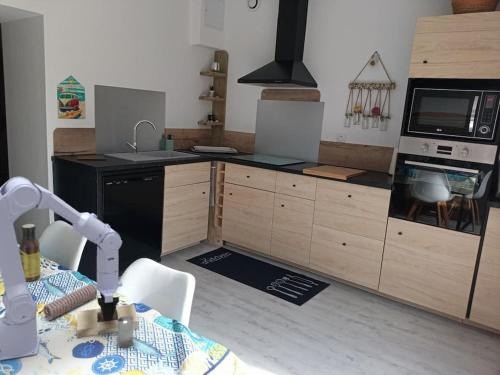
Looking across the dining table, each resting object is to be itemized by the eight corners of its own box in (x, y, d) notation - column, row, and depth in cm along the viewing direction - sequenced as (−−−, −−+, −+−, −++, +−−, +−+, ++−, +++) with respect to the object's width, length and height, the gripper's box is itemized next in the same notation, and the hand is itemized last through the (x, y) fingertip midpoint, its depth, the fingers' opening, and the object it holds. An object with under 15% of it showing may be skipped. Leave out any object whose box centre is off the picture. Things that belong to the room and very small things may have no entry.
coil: (51, 309, 108) (100, 285, 124) (40, 303, 110) (89, 281, 126) (50, 323, 109) (99, 298, 125) (39, 317, 111) (89, 293, 127)
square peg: (101, 328, 108) (101, 306, 107) (100, 321, 112) (100, 299, 110) (115, 326, 110) (116, 304, 108) (115, 319, 113) (115, 297, 112)
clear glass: (117, 349, 100) (118, 325, 98) (116, 340, 103) (117, 317, 102) (133, 346, 101) (134, 322, 100) (132, 338, 105) (132, 315, 104)
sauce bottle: (21, 275, 136) (19, 222, 132) (41, 273, 139) (39, 221, 135) (19, 283, 130) (16, 228, 126) (40, 281, 133) (38, 227, 129)
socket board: (77, 338, 103) (77, 329, 102) (78, 318, 112) (77, 311, 111) (137, 328, 109) (137, 321, 109) (134, 311, 118) (134, 304, 118)
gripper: (124, 279, 102) (124, 324, 105) (120, 258, 115) (120, 299, 118) (96, 281, 100) (96, 328, 102) (95, 260, 113) (95, 302, 115)
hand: (107, 313), depth 110 cm, fingers open, 7 cm apart
